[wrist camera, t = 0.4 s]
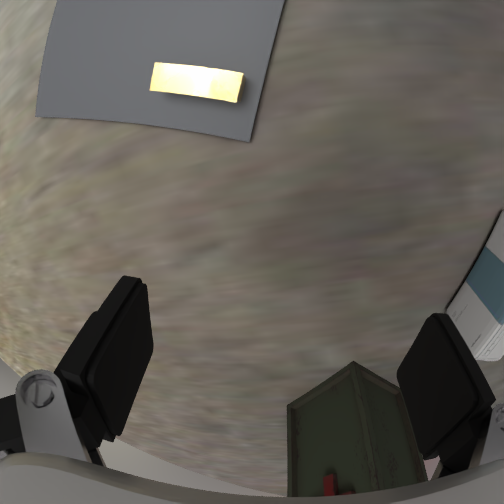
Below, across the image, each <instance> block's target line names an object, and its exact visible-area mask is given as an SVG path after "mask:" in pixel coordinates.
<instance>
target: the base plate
mask: <svg viewBox="0 0 504 504" xmlns="http://www.w3.org/2000/svg"><path fill="white" fill-rule="evenodd" d="M284 1H285V0H57V3H56V7H55V10H54V14H53V17H52V21H51V25H50V29H49V33H48V37H47V41H46V46H45V51H44V56H43V61H42V67H41V73H40V80H39V87H38V95H37V104H36V115H35V117H58V118H80V119H95V120H107V121H118V122H128V123H137V124H145V125H153V126H161V127H168V128H175V129H181V130H187V131H193V132H199V133H205V134H211V135H216V136H221V137H226V138H231V139H236V140H241V141H246V142H250V138H251V134H252V130H253V125H254V121H255V117H256V113H257V108H258V104H259V100H260V96H261V92H262V88H263V83H264V79H265V75H266V71H267V67H268V63H269V59H270V55H271V51H272V47H273V43H274V39H275V35H276V32H277V28H278V24H279V20H280V16H281V13H282V9H283V5H284ZM155 63H168V64H180V65H189V66H198V67H206V68H213V69H220V70H226V71H232V72H238V73H243V74H244V76H245V77H246V80H245V85H244V89H243V93H242V97H241V102H237V103H236V102H231V101H225V100H219V99H213V98H207V97H201V96H194V95H186V94H179V93H170V92H161V91H150V85H151V80H152V75H153V70H154V65H155Z"/></svg>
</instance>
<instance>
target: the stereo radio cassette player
mask: <svg viewBox="0 0 504 504" xmlns="http://www.w3.org/2000/svg"><path fill="white" fill-rule="evenodd" d="M446 313H447V314H448V315H449V316H450V318H451V319H452V321H453V323H454V324H455V326H456V327H457V329H458V331H459V332H460V334H461V336H462V337H463V339H464V341H465V342H466V344H467V346H468V348H469V349H470V351H471V353H472V355H473V356H474V358H475V359H477V360H485V361H497V360H499V359H501V357H502V356H503V355H504V210H503V211H502V212H501V214H500V216H499V218H498V221H497V223H496V225H495V227H494V229H493V231H492V233H491V235H490V237H489V239H488V241H487V243H486V245H485V247H484V249H483V251H482V252H481V254H480V256H479V258H478V260H477V261H476V263H475V265H474V267H473V269H472V270H471V272H470V274H469V275H468V277H467V279H466V280H465V282H464V284H463V285H462V287H461V288H460V290H459V292H458V293H457V295H456V296H455V298H454V299H453V301H452V303H451V304H450V306H449V307H448V309H447V311H446Z"/></svg>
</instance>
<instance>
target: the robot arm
mask: <svg viewBox="0 0 504 504" xmlns="http://www.w3.org/2000/svg"><path fill="white" fill-rule="evenodd" d="M152 353H153V337H152V329H151V321H150V312H149V302H148V291H147V285H146V284H143V283H142V280H141V279H140V278H136V277H130V276H122V277H121V279H120V280H119V281H118V283H117V284H116V285H115V287H114V288H113V290H112V291H111V292H110V294H109V295H108V297H107V298H106V300H105V301H104V302H103V304H102V305H101V307H100V308H99V310H98V311H95V312H93V313H92V314H91V316H90V317H89V318H88V320H87V321H86V323H85V324H84V326H83V327H82V329H81V330H80V332H79V333H78V335H77V336H76V338H75V339H74V341H73V342H72V344H71V345H70V347H69V349H68V350H67V352H66V353H65V355H64V356H63V358H62V360H61V361H60V363H59V364H58V366H57V368H56V369H55V371H54V373H52V372H50V371H48V370H42V369H41V370H34V371H31V372H29V373H27V374H26V375H24V376H23V377H22V378H21V380H20V381H19V382H18V384H17V387H16V394H14V395H10V396H7V397H4V398H1V399H0V504H504V403H500V404H497V405H496V406H495V407H494V408H493V409H492V408H491V405H492V404H493V403H494V402H495V401H496V399H495V396H494V394H493V392H492V390H491V388H490V386H489V384H488V382H487V380H486V379H485V377H484V375H483V373H482V371H481V369H480V367H479V365H478V364H477V362H476V360H475V358H474V356H473V355H472V353H471V351H470V349H469V348H468V346H467V344H466V342H465V341H464V339H463V337H462V336H461V334H460V332H459V331H458V329H457V327H456V326H455V324H454V323H453V321H452V319H451V318H450V316H449V315H448V314H441V313H433V314H432V315H431V316H430V317H428V318H427V319H426V321H425V323H424V325H423V326H422V328H421V330H420V332H419V334H418V336H417V337H416V339H415V341H414V343H413V344H412V346H411V348H410V350H409V351H408V353H407V355H406V356H405V358H404V360H403V361H402V363H401V365H400V366H399V368H398V370H397V380H398V383H399V386H400V389H401V392H402V395H403V398H404V401H405V405H406V408H407V411H408V414H409V418H410V421H411V425H412V428H413V432H414V435H415V439H416V443H417V446H418V450H419V452H420V453H422V455H423V459H424V460H429V459H433V458H436V457H437V456H438V455H439V457H440V461H439V463H438V465H437V468H436V470H435V472H434V474H433V476H432V478H431V480H430V481H426V482H422V483H417V484H413V485H408V486H403V487H398V488H393V489H387V490H381V491H374V492H367V493H359V494H349V495H338V496H323V497H263V496H248V495H237V494H227V493H219V492H212V491H205V490H199V489H193V488H187V487H182V486H177V485H172V484H167V483H163V482H158V481H154V480H149V479H145V478H141V477H138V476H134V475H130V474H127V473H123V472H120V471H116V470H113V469H109V468H107V467H106V465H105V463H104V461H103V458H102V456H101V454H100V451H99V449H98V447H100V445H101V442H102V440H103V439H104V440H107V441H110V442H114V439H115V436H116V435H117V436H120V435H121V434H122V432H123V429H124V426H125V424H126V421H127V418H128V415H129V413H130V410H131V407H132V405H133V402H134V399H135V397H136V394H137V391H138V389H139V386H140V384H141V381H142V379H143V376H144V373H145V371H146V368H147V366H148V363H149V361H150V358H151V356H152Z"/></svg>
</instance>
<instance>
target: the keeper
mask: <svg viewBox="0 0 504 504" xmlns="http://www.w3.org/2000/svg"><path fill="white" fill-rule="evenodd" d="M245 80H246V77H245V76H244V74H243V73H238V72H232V71H226V70H220V69H213V68H206V67H198V66H189V65H180V64H168V63H155V65H154V70H153V75H152V80H151V85H150V91H161V92H170V93H179V94H186V95H194V96H201V97H207V98H213V99H219V100H225V101H231V102H236V103H237V102H241V97H242V93H243V89H244V85H245Z"/></svg>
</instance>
